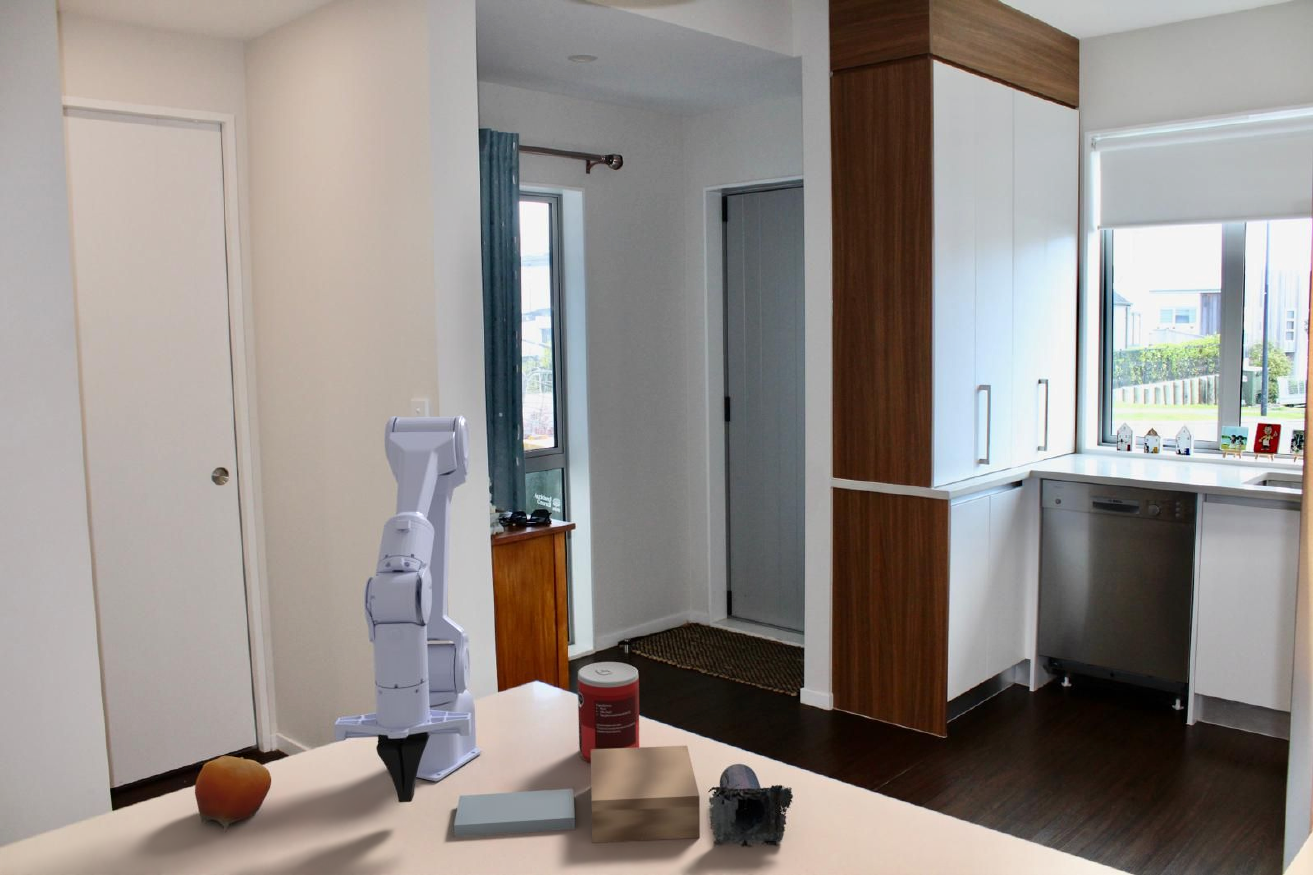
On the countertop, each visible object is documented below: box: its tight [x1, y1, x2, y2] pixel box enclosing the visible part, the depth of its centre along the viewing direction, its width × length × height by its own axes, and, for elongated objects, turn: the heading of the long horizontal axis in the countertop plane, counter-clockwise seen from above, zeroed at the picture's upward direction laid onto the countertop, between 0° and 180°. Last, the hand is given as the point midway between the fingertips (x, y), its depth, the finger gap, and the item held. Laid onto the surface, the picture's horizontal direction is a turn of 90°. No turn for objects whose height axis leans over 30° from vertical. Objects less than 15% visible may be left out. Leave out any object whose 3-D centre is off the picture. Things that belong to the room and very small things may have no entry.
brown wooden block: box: [590, 745, 701, 844], centre depth 114 cm, size 12×13×5 cm
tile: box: [453, 788, 576, 838], centre depth 113 cm, size 13×7×2 cm, turn 96°
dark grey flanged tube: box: [707, 763, 794, 848], centre depth 112 cm, size 9×8×12 cm
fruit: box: [194, 755, 272, 833], centre depth 114 cm, size 8×8×8 cm
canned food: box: [577, 661, 640, 764], centre depth 129 cm, size 8×8×11 cm
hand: (406, 798), depth 112 cm, fingers closed
